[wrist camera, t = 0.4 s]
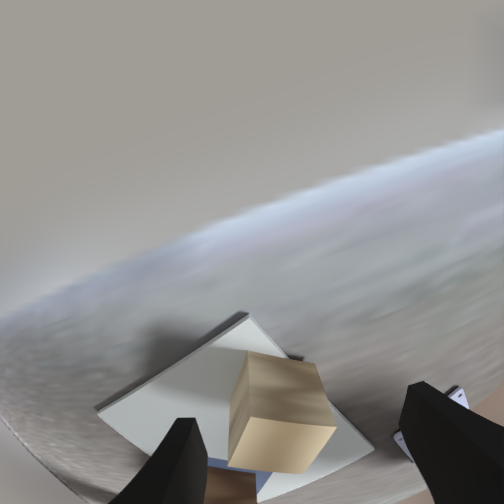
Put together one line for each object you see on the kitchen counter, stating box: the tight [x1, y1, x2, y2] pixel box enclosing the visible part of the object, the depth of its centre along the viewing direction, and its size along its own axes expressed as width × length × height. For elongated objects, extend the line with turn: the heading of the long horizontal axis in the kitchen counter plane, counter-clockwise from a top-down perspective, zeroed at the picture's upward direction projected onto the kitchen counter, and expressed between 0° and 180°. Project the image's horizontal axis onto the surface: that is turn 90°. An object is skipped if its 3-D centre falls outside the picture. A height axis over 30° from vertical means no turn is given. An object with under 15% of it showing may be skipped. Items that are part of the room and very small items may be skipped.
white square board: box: [97, 314, 375, 503], centre depth 22 cm, size 19×18×1 cm
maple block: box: [227, 350, 337, 474], centre depth 17 cm, size 5×5×6 cm
